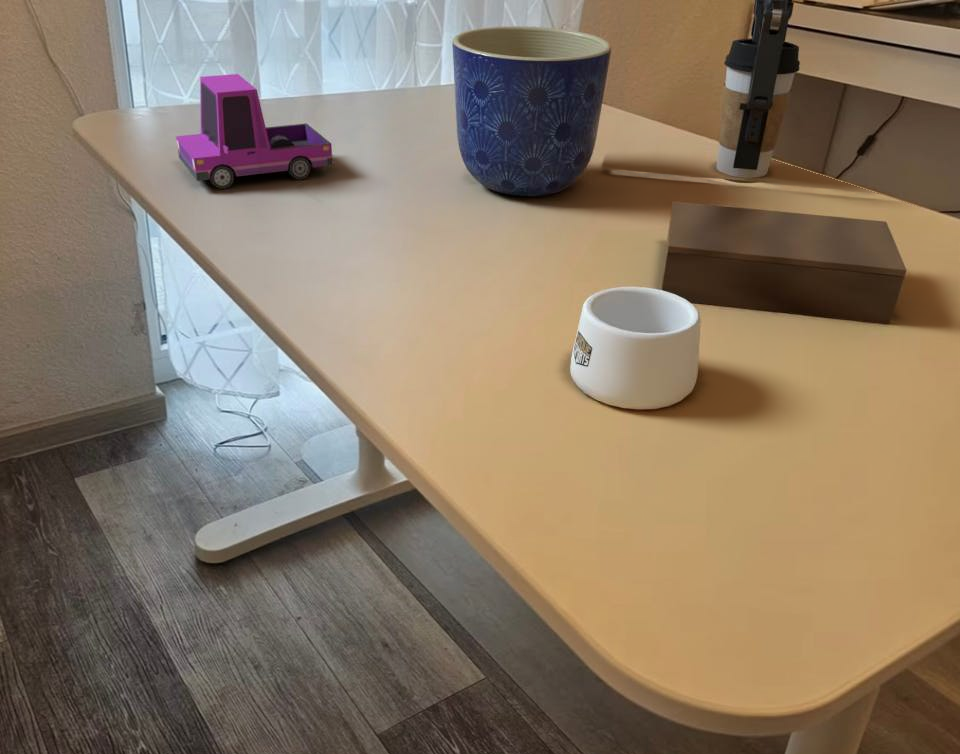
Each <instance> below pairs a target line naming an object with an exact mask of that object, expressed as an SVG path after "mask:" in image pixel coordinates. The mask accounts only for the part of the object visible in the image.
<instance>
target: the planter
mask: <svg viewBox="0 0 960 754" xmlns="http://www.w3.org/2000/svg"><path fill="white" fill-rule="evenodd" d="M451 43H452V62H453V63H452V64H453V78H454V79H453V81H454V101H455V119H456V134H457V144H458V149H459V152H460V156H461V159H462V162H463V164H464V166H465V168H466V169H467V171H468V172H469V174H470V175H471V176H472V178H474V179H475V181H477V182H478V183H479V184H481V185H482V186H483V187H485V188H487V189H489V190H491V191H494V192H496V193H500V194H505V195H510V196H515V197H517V196H518V197H539V196H540V197H541V196H546V195H551V194H552V195H553V194H555V193H559V192H561V191H563V190H565V189H567V188H568V187H571V186H572V185H573V184H574V183H576V182H577V181H578V180H579V178H580V177H581V176H582V175H583V174H584V172H585V171H586V169H587V167H588V165H589V163H590V162H591V159H592V156H593V154H594V150H595V146H596V142H597V136H598V131H599V125H600V120H601V119H600V118H601V114H602V107H603V101H604V96H605V95H604V94H605V89H606V83H607V78H608V71H609V66H610V61H611V60H610V59H611V55H612V45H611V43H610V42H609V41H607V40H606V39H604V38H602V37H600V36H597V35H593V34H590V33H586V32H582V31H577V30H571V29H563V28H556V27H545V26H526V25H525V26H524V25H510V26H508V25H507V26H491V27H490V26H488V27H481V28H475V29H470V30H465V31H462V32H460V33H458V34H456V35H455V36H454V37H453V38H452V41H451Z"/></svg>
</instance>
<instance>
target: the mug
mask: <svg viewBox="0 0 960 754" xmlns="http://www.w3.org/2000/svg"><path fill="white" fill-rule="evenodd" d="M701 324H702V320H701V315H700V311H699V310H698V309H697V307H696V306H695V305H694V304H692V302H688V301H687V300H686V299H684V298H682V297H679V296H677V295H675V294H672V293H669V292H666V291H663V290H661V289H657V288H652V287H643V286H618V287H617V286H616V287H612V288H611V287H610V288H607V289H604V290H600V291H597V292H595V293H593V294H591V295H590V296H588V297H587V299H586V300H585V301H584V303H583V305H582V309H581V314H580V317H579V322H578V326H577V327H578V328H577V331H576V336H575V339H574V344H573V348H572V353H571V359H570V365H569V366H570V368H569V369H570V375H571V378H572V380H573V382H574V383H575V384H576V387H578V388H579V389H580V390H581V391H582V392H583V393H584V394H585V395H587V396H589V397H590V398H592V399H593V400H596V401H598V402H601V403H603V404H606V405H608V406H613V407H617V408H622V409H629V410H656V409H661V408H666V407H670V406H673V405H675V404H677V403H679V402H681V401H682V400H684V399H685V398H686V397H687V396H689V394H691V393H692V392H693V390H694V388H695V385H696V383H697V378H698V374H699V373H698V372H699V357H700V356H699V355H700V340H701V326H702V325H701Z"/></svg>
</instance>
